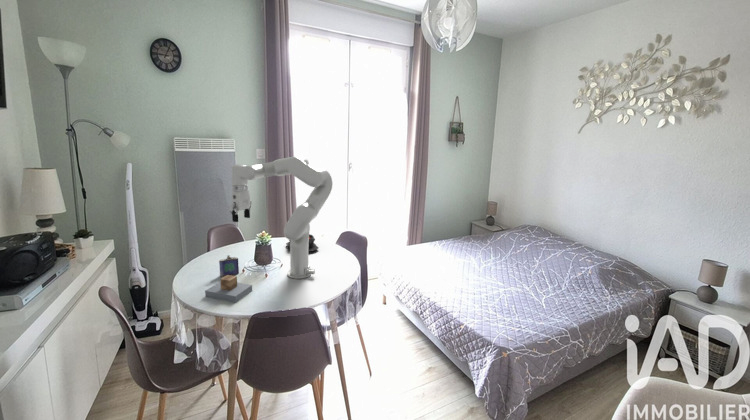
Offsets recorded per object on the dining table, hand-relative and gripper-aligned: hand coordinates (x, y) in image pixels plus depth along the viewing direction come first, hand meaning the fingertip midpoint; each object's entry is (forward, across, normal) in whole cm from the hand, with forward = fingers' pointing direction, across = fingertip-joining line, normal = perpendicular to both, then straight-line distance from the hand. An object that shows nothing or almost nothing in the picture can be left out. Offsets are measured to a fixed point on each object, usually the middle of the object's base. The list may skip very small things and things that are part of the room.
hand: (241, 219), depth 173 cm
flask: (+29, -9, +2) cm, 30 cm away
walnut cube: (+25, -27, -12) cm, 39 cm away
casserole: (+29, +43, -14) cm, 54 cm away
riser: (+28, -27, -12) cm, 41 cm away
